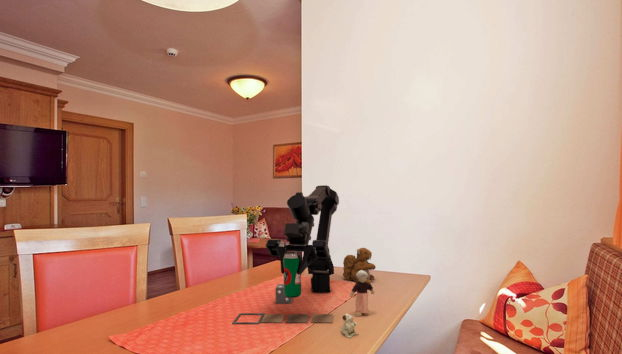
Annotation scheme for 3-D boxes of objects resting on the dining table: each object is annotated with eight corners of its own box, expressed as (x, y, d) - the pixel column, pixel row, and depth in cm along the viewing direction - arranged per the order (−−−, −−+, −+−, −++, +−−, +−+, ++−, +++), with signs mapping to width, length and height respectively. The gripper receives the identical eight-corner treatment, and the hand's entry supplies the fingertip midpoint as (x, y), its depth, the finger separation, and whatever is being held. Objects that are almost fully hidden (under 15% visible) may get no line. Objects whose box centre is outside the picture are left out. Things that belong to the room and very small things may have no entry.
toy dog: (350, 339, 81) (349, 318, 82) (337, 332, 85) (336, 312, 86) (360, 335, 83) (360, 314, 84) (347, 329, 87) (347, 309, 88)
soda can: (299, 298, 93) (298, 255, 93) (281, 298, 94) (280, 254, 94) (303, 293, 98) (302, 251, 98) (286, 292, 99) (285, 251, 99)
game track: (332, 314, 98) (332, 313, 98) (332, 324, 91) (332, 323, 91) (239, 314, 100) (239, 313, 100) (232, 324, 92) (232, 323, 92)
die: (292, 298, 114) (292, 283, 114) (290, 303, 109) (290, 287, 109) (278, 298, 114) (277, 283, 114) (275, 303, 109) (275, 287, 109)
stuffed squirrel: (371, 285, 129) (370, 250, 130) (337, 281, 135) (336, 248, 136) (378, 279, 138) (377, 246, 138) (346, 275, 144) (345, 245, 145)
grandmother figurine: (356, 318, 94) (355, 273, 95) (348, 314, 98) (347, 270, 99) (378, 313, 98) (376, 269, 99) (370, 309, 101) (368, 267, 102)
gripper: (267, 212, 103) (251, 256, 92) (325, 212, 97) (315, 258, 86) (278, 234, 110) (264, 277, 99) (333, 235, 105) (324, 281, 94)
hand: (290, 273), depth 95 cm, fingers closed on soda can, 5 cm apart
